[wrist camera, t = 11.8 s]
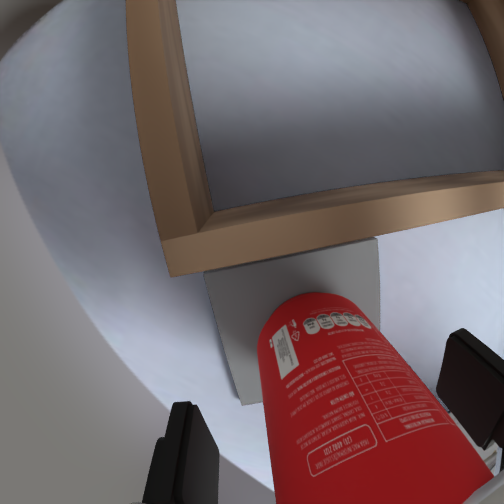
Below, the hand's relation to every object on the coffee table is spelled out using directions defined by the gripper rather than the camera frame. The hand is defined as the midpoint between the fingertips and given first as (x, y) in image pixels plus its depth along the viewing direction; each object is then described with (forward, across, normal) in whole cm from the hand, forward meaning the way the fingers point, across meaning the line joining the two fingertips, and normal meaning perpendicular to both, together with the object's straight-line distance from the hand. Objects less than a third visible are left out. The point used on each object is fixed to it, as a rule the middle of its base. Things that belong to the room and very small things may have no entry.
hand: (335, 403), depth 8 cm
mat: (+5, 0, 0) cm, 5 cm away
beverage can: (+5, 0, 0) cm, 5 cm away
